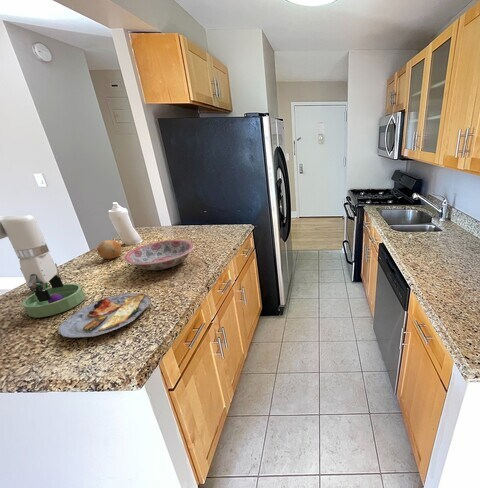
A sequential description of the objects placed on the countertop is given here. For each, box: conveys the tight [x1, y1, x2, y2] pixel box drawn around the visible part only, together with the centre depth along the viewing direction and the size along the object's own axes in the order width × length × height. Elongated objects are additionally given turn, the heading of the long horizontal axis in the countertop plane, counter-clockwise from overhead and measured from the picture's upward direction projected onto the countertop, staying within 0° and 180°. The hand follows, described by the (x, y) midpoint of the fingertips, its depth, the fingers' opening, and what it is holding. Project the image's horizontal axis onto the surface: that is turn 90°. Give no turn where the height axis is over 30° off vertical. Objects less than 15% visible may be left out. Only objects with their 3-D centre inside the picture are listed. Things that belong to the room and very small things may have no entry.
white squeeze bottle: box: [107, 202, 144, 246], centre depth 152 cm, size 12×11×25 cm
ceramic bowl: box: [124, 239, 195, 271], centre depth 127 cm, size 29×29×8 cm
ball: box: [48, 294, 63, 303], centre depth 97 cm, size 4×4×4 cm
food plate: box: [57, 292, 152, 339], centre depth 90 cm, size 25×23×4 cm
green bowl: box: [21, 282, 86, 318], centre depth 97 cm, size 16×16×5 cm
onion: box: [97, 239, 123, 260], centre depth 135 cm, size 10×10×10 cm
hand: (52, 293), depth 96 cm, fingers open, 9 cm apart
